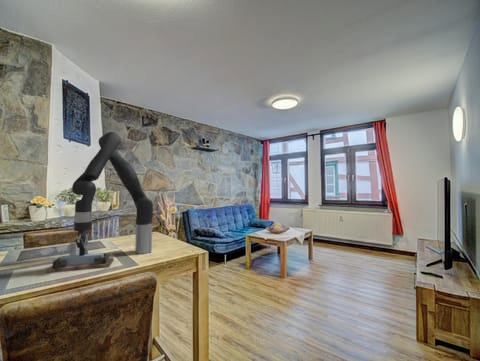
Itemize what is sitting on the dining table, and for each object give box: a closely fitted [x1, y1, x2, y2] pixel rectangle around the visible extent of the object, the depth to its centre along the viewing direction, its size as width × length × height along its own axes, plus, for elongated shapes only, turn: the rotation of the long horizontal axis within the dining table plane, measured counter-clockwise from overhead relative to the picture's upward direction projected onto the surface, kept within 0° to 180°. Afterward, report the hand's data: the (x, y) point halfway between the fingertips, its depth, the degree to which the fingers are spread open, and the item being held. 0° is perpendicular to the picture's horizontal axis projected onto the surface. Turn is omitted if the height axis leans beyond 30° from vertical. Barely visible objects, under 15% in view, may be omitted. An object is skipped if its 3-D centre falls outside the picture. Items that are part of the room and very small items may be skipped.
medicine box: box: [69, 241, 89, 255], centre depth 130 cm, size 8×4×9 cm, turn 168°
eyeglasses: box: [39, 244, 70, 258], centre depth 135 cm, size 14×8×4 cm, turn 144°
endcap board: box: [45, 252, 114, 274], centre depth 115 cm, size 26×10×4 cm, turn 108°
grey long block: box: [59, 252, 105, 266], centre depth 115 cm, size 18×4×4 cm, turn 109°
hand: (82, 255), depth 115 cm, fingers closed
